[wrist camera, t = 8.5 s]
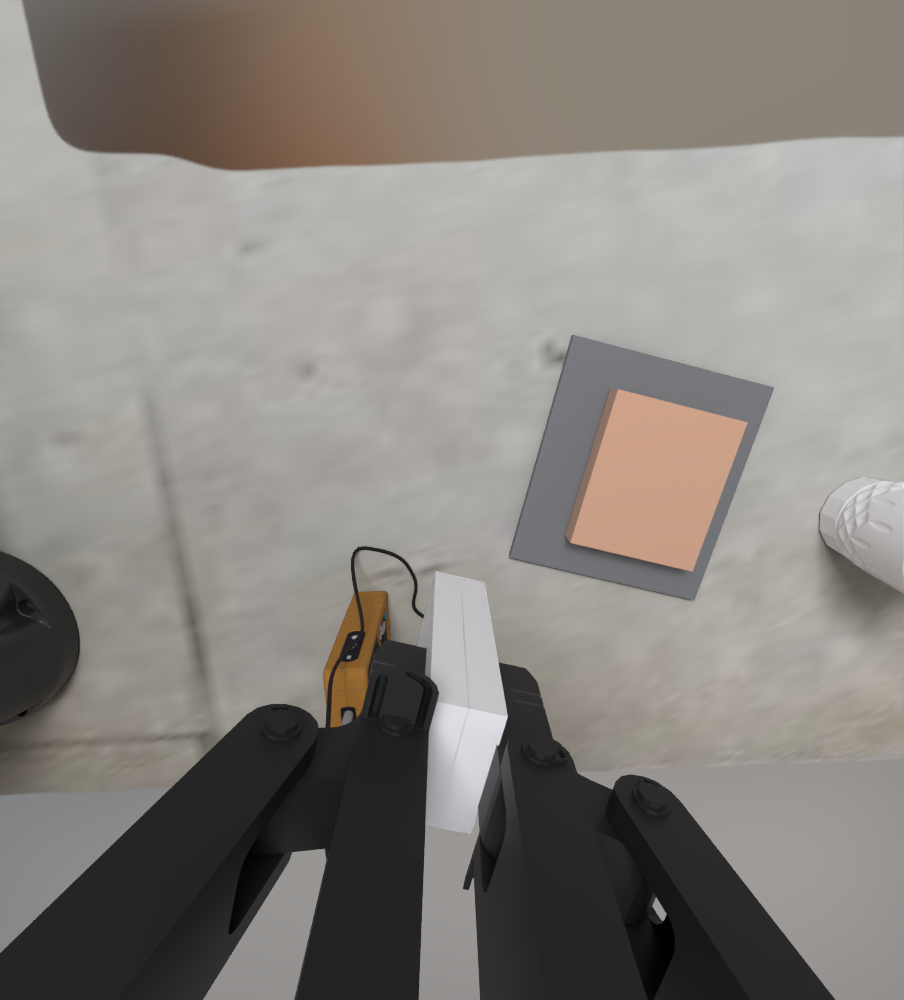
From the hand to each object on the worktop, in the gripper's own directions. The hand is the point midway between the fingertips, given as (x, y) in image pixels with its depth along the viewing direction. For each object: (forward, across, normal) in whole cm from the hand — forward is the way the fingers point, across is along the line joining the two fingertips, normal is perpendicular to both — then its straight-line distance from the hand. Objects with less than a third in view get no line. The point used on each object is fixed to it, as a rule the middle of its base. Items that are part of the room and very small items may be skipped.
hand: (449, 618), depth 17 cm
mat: (+29, +15, +2) cm, 33 cm away
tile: (+28, +11, +2) cm, 30 cm away
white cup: (+30, +34, +3) cm, 45 cm away
